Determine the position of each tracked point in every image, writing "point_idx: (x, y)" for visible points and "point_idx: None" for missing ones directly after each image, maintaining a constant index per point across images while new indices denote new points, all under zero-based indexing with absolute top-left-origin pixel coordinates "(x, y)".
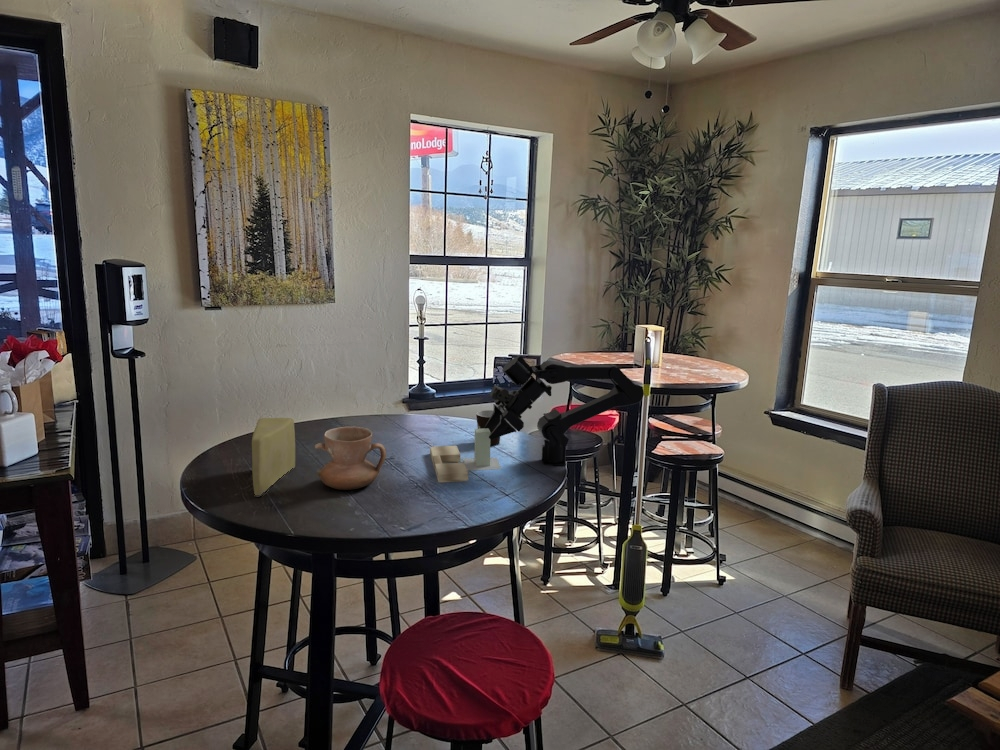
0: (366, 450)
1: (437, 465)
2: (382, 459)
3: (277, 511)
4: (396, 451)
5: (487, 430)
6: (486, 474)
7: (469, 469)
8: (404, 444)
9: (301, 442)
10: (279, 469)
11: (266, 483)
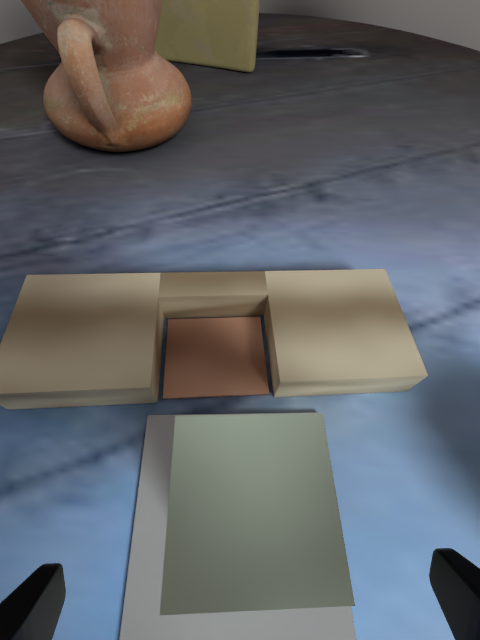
0: (48, 24)
1: (138, 278)
2: (77, 96)
3: (26, 65)
4: (388, 208)
5: (250, 573)
6: (75, 522)
7: (157, 429)
8: (468, 227)
9: (413, 78)
10: (172, 32)
11: None
